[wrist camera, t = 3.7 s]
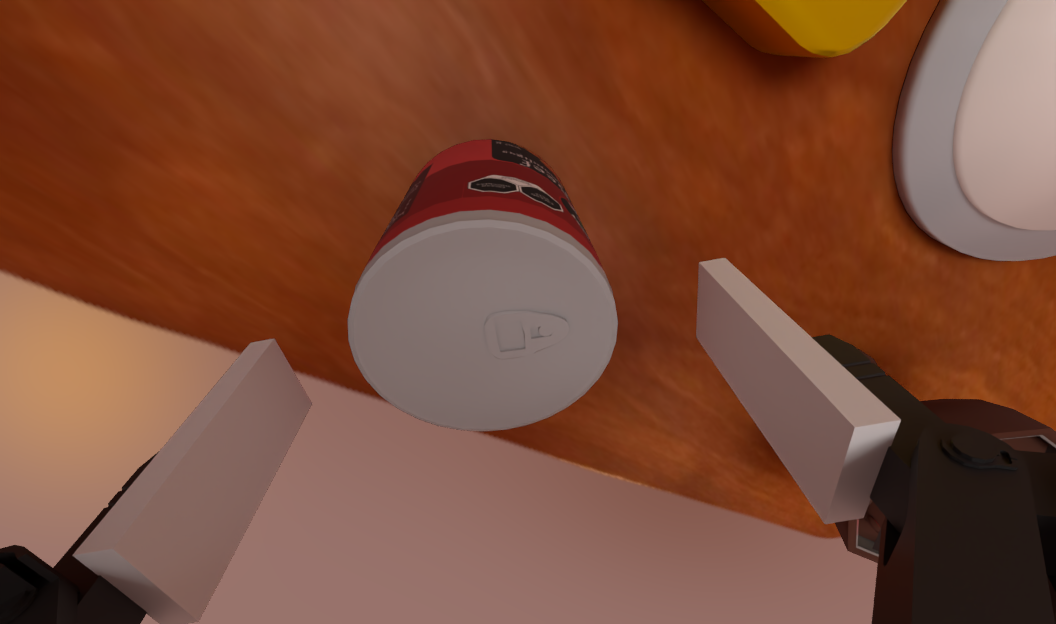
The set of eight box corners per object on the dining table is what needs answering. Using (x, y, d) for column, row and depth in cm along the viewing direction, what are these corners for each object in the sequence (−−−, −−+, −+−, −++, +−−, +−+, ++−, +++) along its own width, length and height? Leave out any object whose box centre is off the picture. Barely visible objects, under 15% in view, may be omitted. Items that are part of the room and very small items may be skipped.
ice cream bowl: (726, 380, 29) (906, 642, 17) (895, 282, 26) (1281, 515, 13) (785, 457, 34) (960, 706, 21) (935, 382, 31) (1247, 624, 18)
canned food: (587, 248, 23) (649, 385, 14) (454, 303, 25) (431, 463, 15) (532, 103, 20) (567, 163, 10) (377, 178, 21) (284, 290, 12)
